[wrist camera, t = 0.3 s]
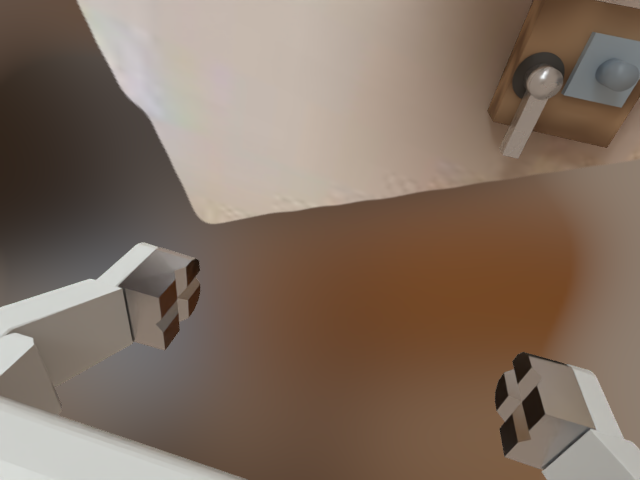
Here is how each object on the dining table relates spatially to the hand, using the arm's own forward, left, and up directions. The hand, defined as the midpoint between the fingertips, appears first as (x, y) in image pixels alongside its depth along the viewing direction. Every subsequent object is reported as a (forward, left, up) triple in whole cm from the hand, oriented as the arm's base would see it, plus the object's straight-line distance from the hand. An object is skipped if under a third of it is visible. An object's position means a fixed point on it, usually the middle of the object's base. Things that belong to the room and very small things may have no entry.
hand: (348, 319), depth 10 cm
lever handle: (+2, +14, -41) cm, 43 cm away
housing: (-2, +18, -46) cm, 50 cm away
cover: (-3, +20, -41) cm, 46 cm away
